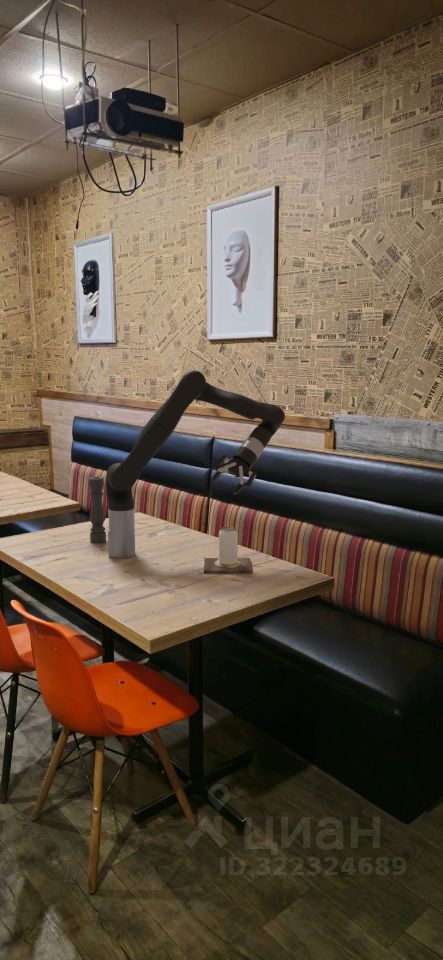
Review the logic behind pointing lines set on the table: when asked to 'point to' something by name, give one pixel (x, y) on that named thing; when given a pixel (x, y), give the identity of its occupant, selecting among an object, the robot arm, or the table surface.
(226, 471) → the robot arm
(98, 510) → the candle holder
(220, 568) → the rest board
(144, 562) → the table surface
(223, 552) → the can
